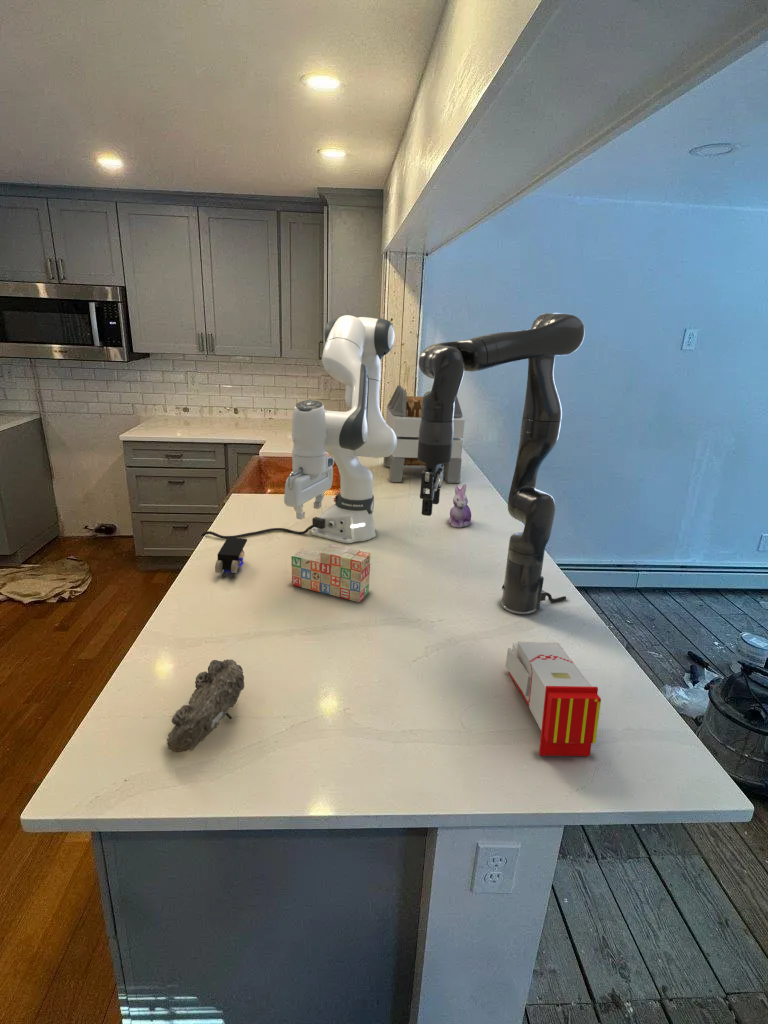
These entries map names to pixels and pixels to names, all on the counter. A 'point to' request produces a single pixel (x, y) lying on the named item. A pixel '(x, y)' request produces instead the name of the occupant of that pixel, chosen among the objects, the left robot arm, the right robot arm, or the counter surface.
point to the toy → (556, 697)
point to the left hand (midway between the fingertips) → (309, 513)
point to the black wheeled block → (230, 556)
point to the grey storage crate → (417, 436)
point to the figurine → (460, 508)
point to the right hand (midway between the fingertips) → (430, 509)
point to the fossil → (206, 705)
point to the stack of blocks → (333, 571)
